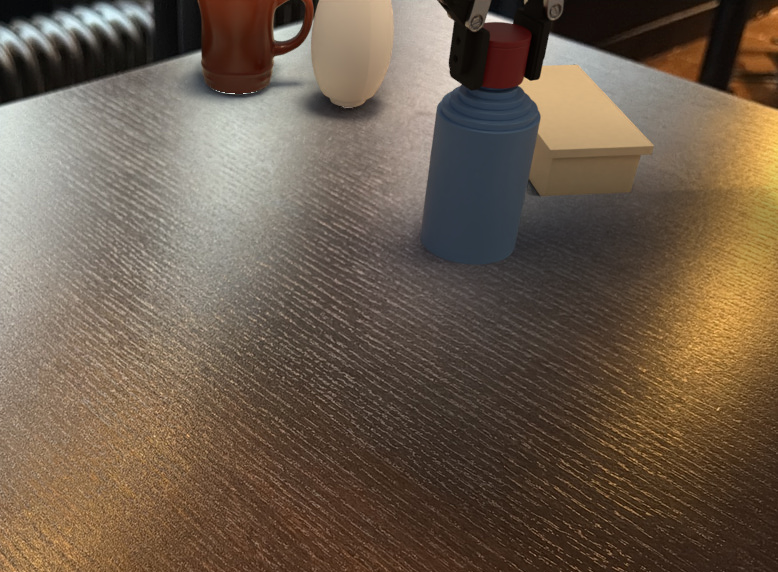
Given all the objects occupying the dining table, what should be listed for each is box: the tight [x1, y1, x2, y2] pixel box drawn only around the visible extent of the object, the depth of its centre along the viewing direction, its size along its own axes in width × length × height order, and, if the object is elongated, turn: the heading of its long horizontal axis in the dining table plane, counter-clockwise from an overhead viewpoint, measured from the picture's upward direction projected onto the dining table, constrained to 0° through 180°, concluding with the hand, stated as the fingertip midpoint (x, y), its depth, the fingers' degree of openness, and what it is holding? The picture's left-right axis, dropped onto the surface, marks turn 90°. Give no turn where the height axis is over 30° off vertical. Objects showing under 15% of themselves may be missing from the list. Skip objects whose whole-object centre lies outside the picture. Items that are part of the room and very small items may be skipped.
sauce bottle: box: [310, 0, 395, 108], centre depth 95 cm, size 8×8×18 cm
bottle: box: [419, 84, 541, 266], centre depth 73 cm, size 7×7×17 cm
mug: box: [196, 0, 315, 94], centre depth 101 cm, size 12×9×10 cm
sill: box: [518, 64, 655, 197], centre depth 90 cm, size 9×18×5 cm, turn 5°
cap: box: [482, 21, 532, 89], centre depth 68 cm, size 4×4×3 cm
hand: (494, 75), depth 69 cm, fingers closed on cap, 3 cm apart
